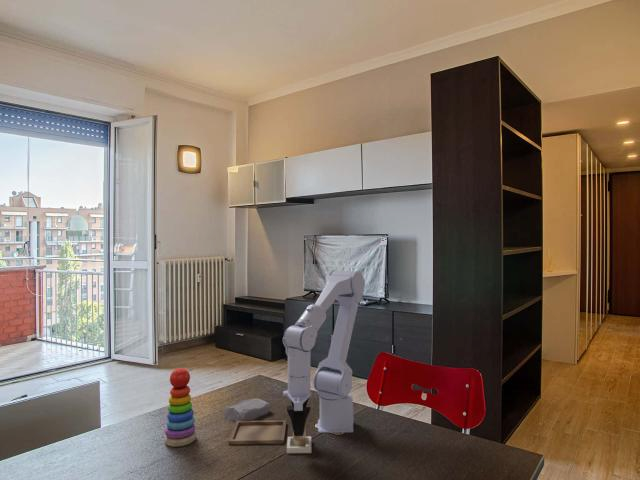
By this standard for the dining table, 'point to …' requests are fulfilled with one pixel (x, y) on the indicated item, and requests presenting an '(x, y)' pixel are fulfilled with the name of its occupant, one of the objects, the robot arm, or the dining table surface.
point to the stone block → (247, 410)
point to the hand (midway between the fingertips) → (299, 428)
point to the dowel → (300, 439)
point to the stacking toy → (180, 411)
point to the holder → (299, 448)
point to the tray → (258, 432)
